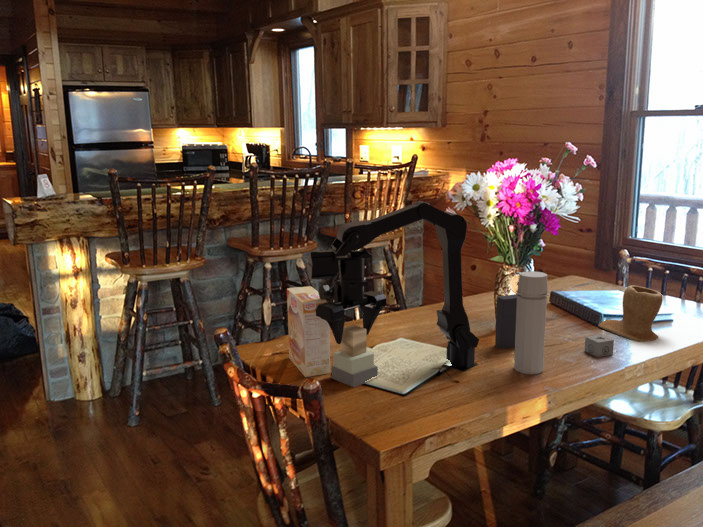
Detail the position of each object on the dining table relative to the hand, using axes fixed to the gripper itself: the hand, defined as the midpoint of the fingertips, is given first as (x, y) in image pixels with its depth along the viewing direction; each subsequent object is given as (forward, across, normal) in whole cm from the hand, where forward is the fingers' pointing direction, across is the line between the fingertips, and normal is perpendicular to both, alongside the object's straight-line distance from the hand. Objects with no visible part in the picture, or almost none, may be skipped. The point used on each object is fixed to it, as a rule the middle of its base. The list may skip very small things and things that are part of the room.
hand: (352, 339), depth 156 cm
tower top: (+7, 0, 0) cm, 7 cm away
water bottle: (+10, -35, +28) cm, 46 cm away
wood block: (+4, 0, 0) cm, 4 cm away
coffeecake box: (+10, +2, -14) cm, 18 cm away
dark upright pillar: (+10, -47, +16) cm, 51 cm away
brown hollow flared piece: (+10, -79, +35) cm, 87 cm away
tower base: (+10, 0, 0) cm, 11 cm away
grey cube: (+10, -56, +36) cm, 68 cm away
